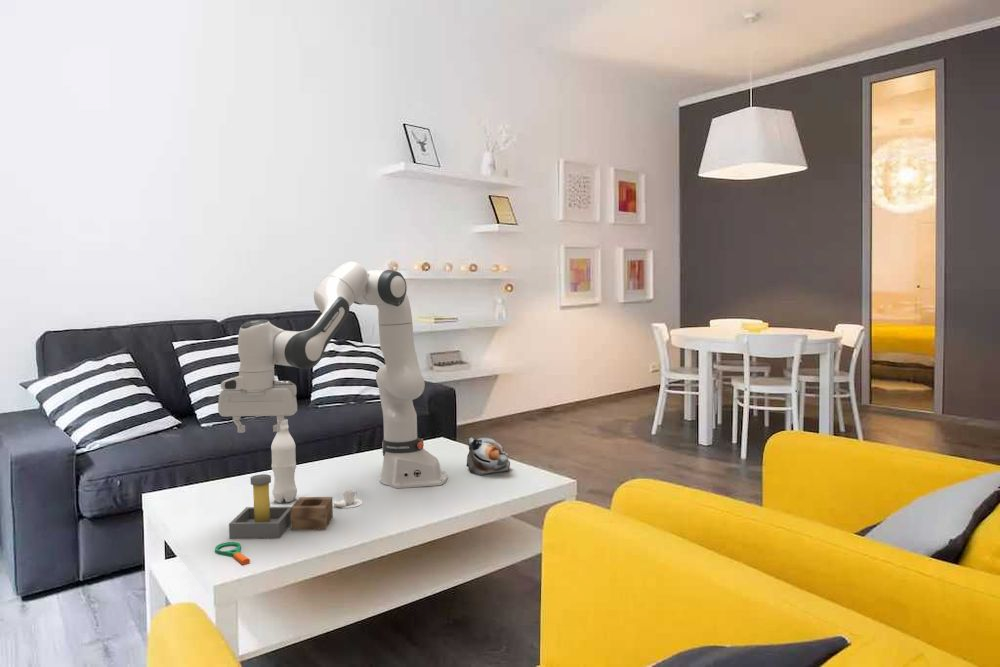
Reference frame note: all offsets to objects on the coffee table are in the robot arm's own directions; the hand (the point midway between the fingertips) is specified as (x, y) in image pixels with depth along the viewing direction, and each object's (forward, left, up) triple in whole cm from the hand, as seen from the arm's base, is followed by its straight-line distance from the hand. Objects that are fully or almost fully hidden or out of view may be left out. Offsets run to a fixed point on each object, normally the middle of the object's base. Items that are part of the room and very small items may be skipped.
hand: (259, 432), depth 184 cm
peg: (0, 0, -26) cm, 26 cm away
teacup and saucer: (-16, -21, -28) cm, 38 cm away
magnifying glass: (+1, +17, -28) cm, 32 cm away
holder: (-12, -4, -27) cm, 30 cm away
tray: (0, 0, -27) cm, 27 cm away
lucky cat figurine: (-62, -53, -27) cm, 86 cm away
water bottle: (+1, -24, -27) cm, 36 cm away
